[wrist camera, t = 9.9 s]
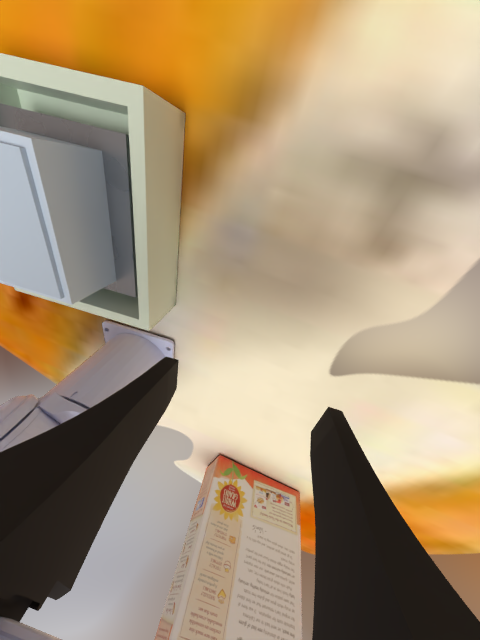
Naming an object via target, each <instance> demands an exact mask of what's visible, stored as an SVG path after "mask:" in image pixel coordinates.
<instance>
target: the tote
mask: <svg viewBox="0 0 480 640" xmlns="http://www.w3.org/2000/svg"><path fill="white" fill-rule="evenodd" d="M0 103H1V104H5V105H9V106H13V107H17V108H21V109H26V110H30V111H34V112H38V113H42V114H46V115H50V116H54V117H58V118H62V119H66V120H70V121H74V122H79V123H83V124H87V125H91V126H95V127H99V128H103V129H107V130H111V131H115V132H119V133H123V134H127V135H129V144H130V162H131V180H132V198H133V216H134V234H135V252H136V270H137V287H138V297H136V298H135V297H132V296H128V295H125V294H122V293H118V292H115V291H111V290H108V289H105V288H102V289H100V290H98V291H97V292H95V293H93V294H91V295H89V296H87V297H85V298H84V299H82V300H80V301H78V302H76V303H74V304H73V305H71V304H68V303H65V302H62V301H58V300H55V299H52V298H48V297H45V296H42V295H39V294H35V293H32V292H29V291H25V290H22V289H19V288H16V287H14V289H15V290H17V291H20V292H23V293H26V294H30V295H33V296H36V297H39V298H43V299H46V300H49V301H53V302H56V303H59V304H62V305H66V306H69V307H72V308H75V309H79V310H82V311H85V312H89V313H92V314H95V315H98V316H102V317H105V318H108V319H111V320H115V321H118V322H121V323H125V324H128V325H131V326H134V327H138V328H141V329H144V330H147V331H150V330H151V329H152V328H153V327H154V326H155V325H156V324H157V323H158V322H159V321H160V320H161V319H162V318H163V317H164V316H165V315H166V314H167V313H168V312H169V311H170V310H171V309H172V308H173V307H174V306H175V305H176V288H177V268H178V249H179V229H180V210H181V190H182V171H183V151H184V132H185V113H184V112H183V111H181V110H180V109H178V108H176V107H175V106H173V105H172V104H170V103H169V102H167V101H166V100H164V99H163V98H161V97H160V96H158V95H156V94H155V93H153V92H152V91H150V90H149V89H147V88H146V87H144V86H142V85H137V84H133V83H129V82H124V81H120V80H116V79H111V78H107V77H103V76H98V75H94V74H89V73H85V72H81V71H76V70H72V69H68V68H63V67H59V66H54V65H50V64H46V63H41V62H37V61H33V60H28V59H24V58H19V57H15V56H11V55H6V54H2V53H0Z"/></svg>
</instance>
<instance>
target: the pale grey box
mask: <svg viewBox="0 0 480 640" xmlns="http://www.w3.org/2000/svg"><path fill="white" fill-rule="evenodd" d="M115 281H116V272H115V264H114V255H113V246H112V237H111V228H110V219H109V210H108V201H107V192H106V183H105V174H104V165H103V156H102V151H101V150H97V149H93V148H89V147H85V146H81V145H77V144H73V143H69V142H65V141H61V140H57V139H54V138H50V137H46V136H42V135H38V134H34V133H30V132H26V131H22V130H17V129H12V128H7V127H1V126H0V283H2V284H6V285H9V286H12V287H16V288H19V289H22V290H25V291H29V292H32V293H35V294H39V295H42V296H45V297H48V298H52V299H55V300H58V301H62V302H65V303H68V304H71V305H73V304H74V303H76V302H78V301H80V300H82V299H84V298H85V297H87V296H89V295H91V294H93V293H95V292H97V291H98V290H100V289H102V288H104V287H106V286H108V285H110V284H111V283H113V282H115Z"/></svg>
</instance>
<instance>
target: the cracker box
mask: <svg viewBox="0 0 480 640" xmlns="http://www.w3.org/2000/svg"><path fill="white" fill-rule="evenodd" d="M301 606H302V605H301V541H300V493H299V492H298V491H296V490H293V489H291V488H289V487H287V486H285V485H283V484H281V483H278V482H276V481H274V480H272V479H270V478H268V477H266V476H264V475H261V474H259V473H257V472H255V471H253V470H251V469H249V468H247V467H244V466H242V465H240V464H238V463H236V462H234V461H232V460H230V459H228V458H226V457H223V456H221V455H219V456H218V457H217V458H216V459H215V460H214V461H213V462H212V463H211V464H210V465H209V466H208V467H207V469H206V472H205V475H204V479H203V482H202V486H201V489H200V492H199V495H198V498H197V502H196V505H195V508H194V512H193V515H192V518H191V521H190V525H189V528H188V531H187V534H186V538H185V541H184V544H183V548H182V551H181V554H180V558H179V561H178V564H177V568H176V571H175V574H174V577H173V581H172V584H171V587H170V590H169V594H168V597H167V600H166V603H165V607H164V610H163V613H162V617H161V620H160V623H159V627H158V630H157V633H156V636H155V640H302V612H301V611H302V607H301Z"/></svg>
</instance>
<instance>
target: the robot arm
mask: <svg viewBox="0 0 480 640" xmlns="http://www.w3.org/2000/svg"><path fill="white" fill-rule="evenodd" d="M102 327H103V333H104V339H105V345H104V346H102V347H101V348H100V349H99V350H98V351H96V352H95V353H94V354H93V355H92V356H90V357H89V358H88V359H87V360H86V361H85V362H83V363H82V364H81V365H80V366H79V367H77V368H76V369H75V370H74V371H73V372H71V373H70V374H69V375H68V376H67V377H66V378H64V379H63V380H62V381H61V382H60V383H58V384H57V385H56V386H55V387H54V388H53V389H51V390H50V391H49V392H48V393H47V394H45V395H44V396H43V397H41V398H36V397H35V396H34V395H27V396H17V397H14V398H12V399H10V400H8V401H7V402H5V403H3V404H2V405H0V640H61V639H59V638H56V637H54V636H52V635H49V634H47V633H44V632H42V631H40V630H37V629H35V628H32V627H30V626H27V625H25V624H23V623H20V620H21V618H22V617H23V615H24V614H25V612H26V610H27V608H28V607H30V608H32V609H35V610H37V611H38V610H39V609H40V608H41V607H42V605H43V603H44V601H45V600H46V598H47V597H50V598H53V599H55V600H57V599H59V598H60V597H62V596H63V595H65V594H66V593H68V592H69V591H70V590H71V588H72V586H73V584H74V582H75V579H76V578H77V575H78V573H79V571H80V569H81V567H82V565H83V562H84V560H85V558H86V556H87V554H88V552H89V550H90V547H91V545H92V543H93V541H94V539H95V537H96V535H97V533H98V531H99V529H100V527H101V525H102V522H103V520H104V518H105V516H106V514H107V512H108V510H109V508H110V506H111V504H112V502H113V500H114V498H115V496H116V494H117V492H118V490H119V489H120V487H121V484H122V483H123V481H124V479H125V477H126V475H127V473H128V471H129V469H130V467H131V465H132V464H133V462H134V460H135V458H136V457H137V455H138V453H139V452H140V450H141V448H142V447H143V445H144V444H145V442H146V441H147V439H148V437H149V436H150V434H151V433H152V431H153V429H154V428H155V426H156V425H157V423H158V422H159V420H160V418H161V417H162V415H163V414H164V412H165V410H166V409H167V407H168V405H169V403H170V401H171V399H172V397H173V395H174V392H175V390H176V388H177V373H178V360H176V359H174V342H173V341H172V340H170V339H167V338H163V337H160V336H157V335H154V334H150V333H147V332H144V331H141V330H137V329H134V328H131V327H127V326H124V325H121V324H118V323H114V322H111V321H108V320H105V321H104V322H103V323H102ZM310 457H311V471H312V484H313V496H314V508H315V526H316V558H315V561H316V562H315V597H314V598H315V599H314V620H313V638H312V640H480V622H479V621H478V619H477V618H476V617H475V615H474V614H473V613H472V612H471V611H470V609H469V608H468V607H467V605H466V604H465V603H464V602H463V600H462V599H461V598H460V597H459V595H458V594H457V592H456V591H455V590H454V589H453V587H452V586H451V585H450V583H449V582H448V581H447V579H445V577H444V575H443V574H442V573H441V571H440V570H439V569H438V567H437V566H436V565H435V563H434V562H433V561H432V559H431V558H430V556H429V555H428V554H427V552H426V551H425V549H424V548H423V547H422V545H421V544H420V542H419V541H418V540H417V538H416V537H415V535H414V534H413V532H412V531H411V529H410V528H409V526H408V525H407V523H406V522H405V520H404V519H403V517H402V516H401V514H400V513H399V511H398V510H397V508H396V507H395V505H394V504H393V502H392V500H391V499H390V497H389V495H388V494H387V492H386V491H385V489H384V487H383V486H382V484H381V482H380V481H379V479H378V477H377V476H376V474H375V472H374V470H373V469H372V467H371V465H370V463H369V461H368V460H367V458H366V456H365V454H364V452H363V450H362V449H361V447H360V445H359V443H358V441H357V439H356V437H355V435H354V433H353V432H352V430H351V428H350V426H349V424H348V422H347V420H346V418H345V416H344V414H343V412H342V411H340V410H337V409H333V408H330V407H328V408H327V410H326V411H325V413H324V414H323V415H322V417H321V418H320V420H319V421H318V423H317V424H316V426H315V427H314V428H313V430H312V431H311V450H310Z"/></svg>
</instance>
